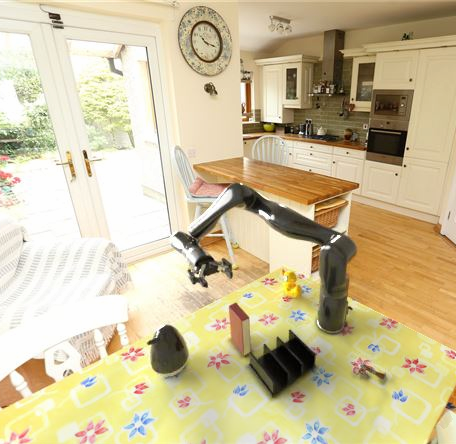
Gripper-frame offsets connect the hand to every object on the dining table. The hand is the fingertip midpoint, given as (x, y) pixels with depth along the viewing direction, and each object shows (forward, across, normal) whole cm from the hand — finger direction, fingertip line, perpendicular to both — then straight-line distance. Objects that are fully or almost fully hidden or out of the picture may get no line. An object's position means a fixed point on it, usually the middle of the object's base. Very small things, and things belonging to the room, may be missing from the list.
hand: (219, 280), depth 93 cm
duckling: (+1, +29, +18) cm, 34 cm away
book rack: (+26, +6, +18) cm, 32 cm away
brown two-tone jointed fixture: (+44, +24, +18) cm, 53 cm away
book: (+12, 0, +18) cm, 22 cm away
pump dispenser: (+7, -20, +18) cm, 28 cm away
